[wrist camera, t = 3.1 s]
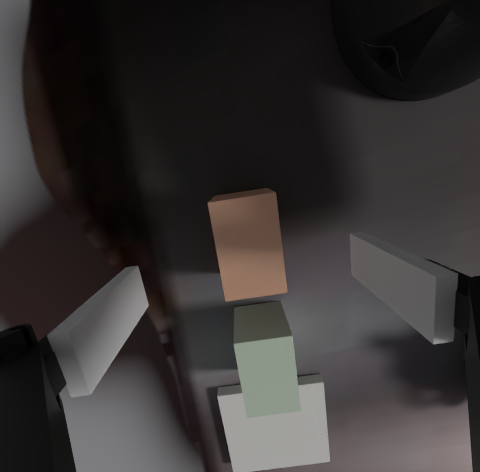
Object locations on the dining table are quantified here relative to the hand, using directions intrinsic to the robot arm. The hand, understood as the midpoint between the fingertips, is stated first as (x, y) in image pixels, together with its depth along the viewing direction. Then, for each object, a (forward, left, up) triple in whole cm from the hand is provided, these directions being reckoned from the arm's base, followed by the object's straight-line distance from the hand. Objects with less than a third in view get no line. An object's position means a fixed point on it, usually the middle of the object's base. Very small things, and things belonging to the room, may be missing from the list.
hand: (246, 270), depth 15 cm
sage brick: (+12, 0, -10) cm, 15 cm away
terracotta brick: (0, 0, -10) cm, 10 cm away
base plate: (+24, 0, -10) cm, 26 cm away
